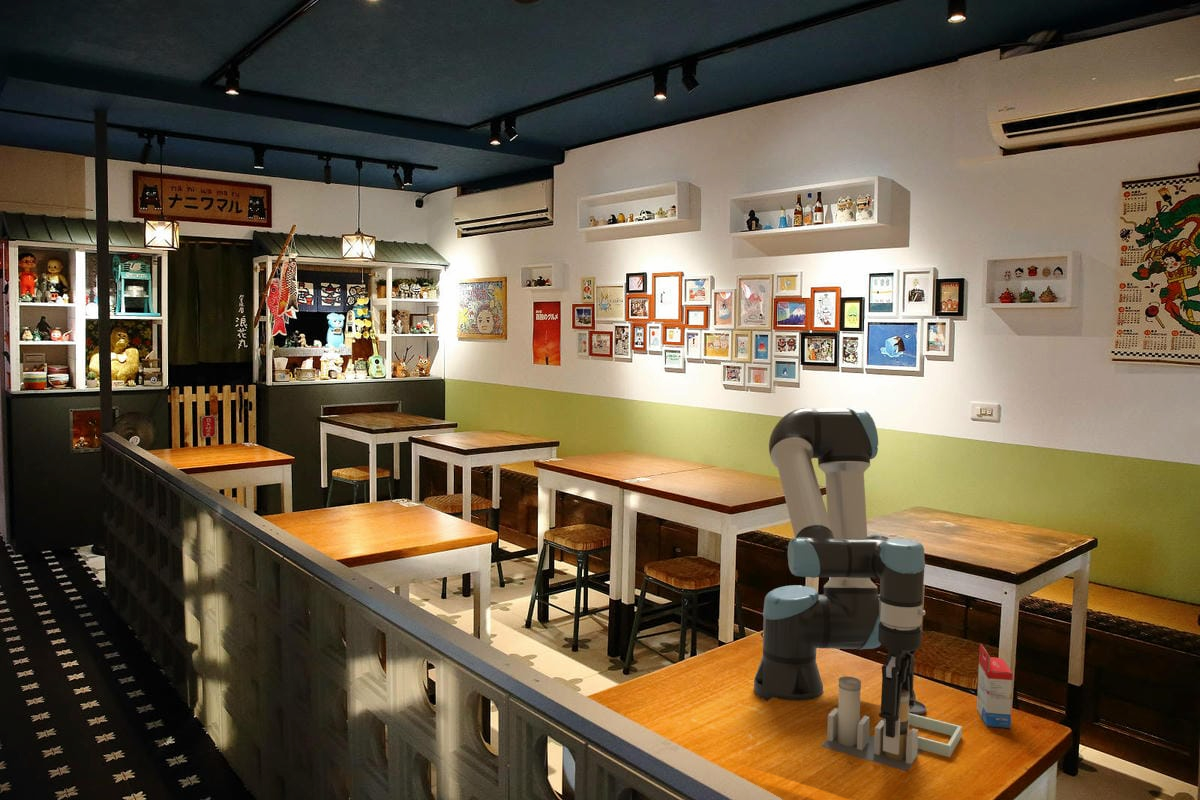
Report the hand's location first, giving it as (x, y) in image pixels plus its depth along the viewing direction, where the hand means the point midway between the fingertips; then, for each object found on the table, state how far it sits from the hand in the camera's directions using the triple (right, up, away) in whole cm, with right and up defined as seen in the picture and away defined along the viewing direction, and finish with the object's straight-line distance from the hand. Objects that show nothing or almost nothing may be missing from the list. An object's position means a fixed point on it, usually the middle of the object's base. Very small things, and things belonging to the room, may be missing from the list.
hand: (895, 745), depth 157 cm
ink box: (+27, -3, +19) cm, 33 cm away
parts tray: (+8, -3, +7) cm, 11 cm away
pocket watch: (+10, -2, +23) cm, 25 cm away
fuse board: (-4, -3, +3) cm, 6 cm away
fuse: (-7, -1, +5) cm, 9 cm away
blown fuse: (0, -2, 0) cm, 2 cm away
